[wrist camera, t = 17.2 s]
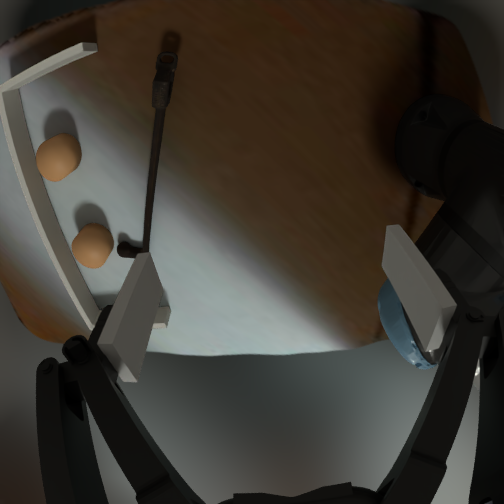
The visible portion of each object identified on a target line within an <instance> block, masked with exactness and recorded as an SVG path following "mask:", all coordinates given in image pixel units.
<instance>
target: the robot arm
mask: <svg viewBox="0 0 504 504" xmlns="http://www.w3.org/2000/svg"><path fill="white" fill-rule="evenodd" d="M395 154H396V160H397V164H398V167H399V169H400V171H401V173H402V175H403V177H404V178H405V179H406V180H407V182H408V183H409V184H410V185H412V186H413V187H414V188H415V189H416V190H417V191H419V192H420V193H422V194H424V195H425V196H428V197H430V198H434V199H438V200H443V201H445V202H444V203H443V205H442V206H441V208H440V209H439V211H438V212H437V213H436V214H435V216H434V217H433V219H432V220H431V222H430V223H429V225H428V226H427V227H426V229H425V230H424V232H423V233H422V234H421V236H420V237H419V238H418V240H417V241H416V242H415V244H414V243H413V242H412V241H411V239H410V238H409V237H408V235H407V234H406V233H405V232H404V230H403V229H402V228H401V227H400V225H389V226H387V229H386V238H385V246H384V254H383V261H382V267H383V269H384V271H385V273H386V275H387V276H388V279H387V280H386V281H385V283H384V284H383V286H382V287H381V289H380V291H379V295H378V309H379V312H380V313H379V314H380V319H381V322H382V324H383V327H384V329H385V331H386V333H387V335H388V337H389V338H390V340H391V341H392V343H393V345H394V346H395V348H396V349H397V350H398V351H399V353H400V354H401V355H402V356H403V357H404V358H405V359H406V360H407V361H408V362H410V363H411V364H413V365H414V364H415V365H416V367H417V368H420V369H429V368H433V367H435V366H436V365H437V364H438V365H439V366H438V369H437V372H436V374H435V377H434V380H433V383H432V385H431V387H430V390H429V393H428V395H427V398H426V400H425V402H424V405H423V407H422V409H421V412H420V414H419V416H418V418H417V420H416V422H415V425H414V427H413V429H412V431H411V433H410V435H409V437H408V439H407V441H406V443H405V445H404V447H403V449H402V450H401V452H400V454H399V456H398V458H397V460H396V462H395V463H394V465H393V467H392V469H391V470H390V472H389V473H388V475H387V476H386V478H385V479H384V480H383V482H382V483H381V485H380V486H379V488H378V489H377V491H376V492H375V491H372V490H370V489H367V488H363V487H356V486H352V485H351V482H348V483H342V484H337V485H331V486H325V487H321V488H319V489H316V490H313V491H310V492H307V493H304V494H302V495H299V496H296V497H286V496H279V495H273V494H266V493H239V494H238V493H236V494H233V495H234V496H233V497H234V498H232V499H228V500H225V501H223V502H221V503H218V504H431V502H432V500H433V498H434V496H435V494H436V492H437V490H438V488H439V486H440V484H441V482H442V479H443V477H444V475H445V472H446V469H447V466H446V460H447V457H448V455H449V453H450V450H451V448H452V445H453V443H454V440H455V437H456V435H457V432H458V429H459V426H460V423H461V421H462V417H463V414H464V411H465V408H466V405H467V402H468V398H469V395H470V392H471V388H472V384H474V386H475V387H476V388H477V389H478V390H479V391H480V403H479V404H480V405H479V424H478V437H477V447H476V456H475V463H474V470H473V477H472V482H471V487H470V494H469V504H504V129H502V128H499V127H497V126H494V125H492V124H489V123H487V122H484V121H483V120H482V119H481V118H480V117H479V116H478V115H477V114H476V113H475V112H474V111H473V110H472V109H471V108H470V107H469V106H468V105H467V104H465V103H464V102H462V101H461V100H459V99H456V98H453V97H450V96H446V95H441V94H433V95H428V96H425V97H423V98H421V99H419V100H417V101H416V102H415V103H413V104H412V105H411V106H410V107H409V108H408V110H407V111H406V112H405V114H404V115H403V117H402V119H401V121H400V123H399V126H398V129H397V133H396V139H395ZM163 291H164V290H163V287H162V284H161V282H160V279H159V276H158V274H157V271H156V268H155V265H154V262H153V260H152V257H151V254H150V252H147V253H139V254H137V256H136V258H135V260H134V262H133V264H132V266H131V268H130V271H129V273H128V275H127V277H126V279H125V281H124V283H123V285H122V287H121V290H120V292H119V294H118V296H117V298H116V301H115V303H114V305H107V306H106V307H105V308H104V309H103V310H102V312H101V313H100V315H99V317H98V320H97V322H96V324H95V328H93V331H92V333H91V335H90V338H89V340H88V341H87V339H86V338H85V337H84V336H82V335H76V336H73V337H71V338H70V339H68V340H67V341H66V342H65V344H64V345H63V348H62V353H63V355H64V356H65V357H66V358H67V360H68V362H64V363H60V364H59V362H58V361H57V360H56V359H55V358H52V357H50V358H46V359H44V360H43V361H42V362H41V363H40V364H39V366H38V367H37V371H36V416H37V434H38V447H39V456H40V465H41V473H42V480H43V486H44V492H45V497H46V503H47V504H109V503H108V500H107V497H106V493H105V490H104V486H103V482H102V479H101V475H100V471H99V468H98V463H97V459H96V455H95V450H94V445H93V441H92V436H91V431H90V425H89V420H88V413H87V407H86V402H87V404H88V406H89V408H90V410H91V412H92V415H93V417H94V419H95V421H96V423H97V425H98V427H99V429H100V431H101V433H102V435H103V437H104V439H105V441H106V443H107V445H108V446H109V448H110V450H111V452H112V454H113V456H114V457H115V459H116V461H117V463H118V464H119V466H120V467H121V469H122V471H123V473H124V474H125V476H126V478H127V479H128V481H129V482H130V484H131V486H132V487H133V489H134V490H135V492H136V500H137V502H138V504H206V503H205V502H204V501H203V500H202V499H201V498H200V497H199V496H198V495H196V493H195V492H194V491H193V490H192V489H191V488H190V487H189V486H188V484H187V483H186V482H185V481H184V479H183V478H182V477H181V476H180V475H179V473H178V472H177V471H176V470H175V468H174V467H173V466H172V464H171V463H170V461H169V460H168V459H167V457H166V456H165V455H164V453H163V452H162V451H161V449H160V448H159V447H158V445H157V444H156V442H155V441H154V439H153V438H152V436H151V435H150V434H149V432H148V431H147V429H146V428H145V426H144V425H143V423H142V422H141V420H140V419H139V417H138V416H137V414H136V412H135V411H134V409H133V408H132V406H131V404H130V403H129V401H128V399H127V398H126V396H125V395H124V393H123V391H122V389H121V388H120V386H119V384H118V383H117V382H116V380H117V377H118V375H119V376H120V378H121V379H122V380H123V382H138V379H139V375H140V371H141V367H142V363H143V360H144V356H145V352H146V349H147V345H148V341H149V338H150V334H151V331H152V327H153V324H154V320H155V317H156V314H157V310H158V307H159V304H160V300H161V297H162V294H163Z"/></svg>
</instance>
